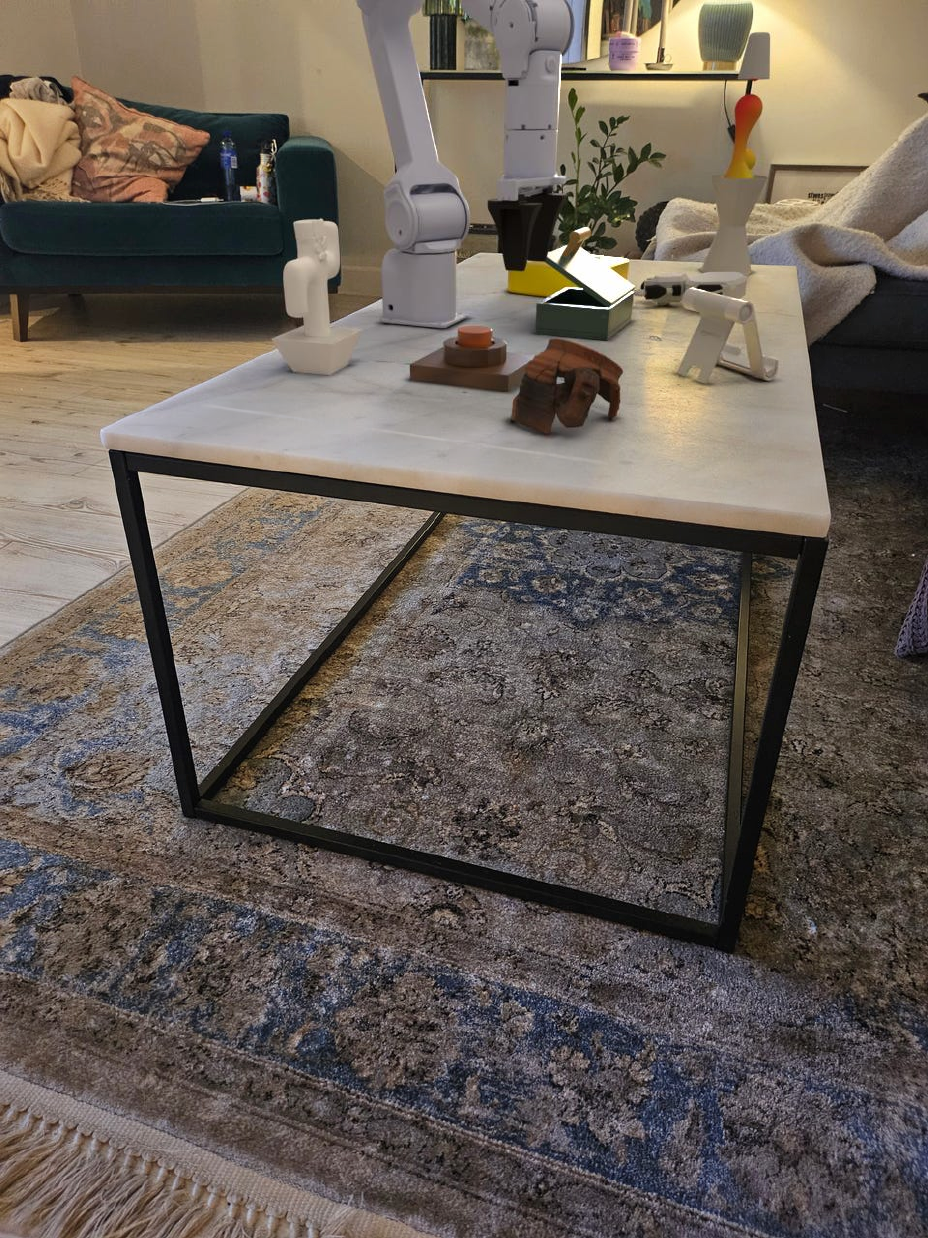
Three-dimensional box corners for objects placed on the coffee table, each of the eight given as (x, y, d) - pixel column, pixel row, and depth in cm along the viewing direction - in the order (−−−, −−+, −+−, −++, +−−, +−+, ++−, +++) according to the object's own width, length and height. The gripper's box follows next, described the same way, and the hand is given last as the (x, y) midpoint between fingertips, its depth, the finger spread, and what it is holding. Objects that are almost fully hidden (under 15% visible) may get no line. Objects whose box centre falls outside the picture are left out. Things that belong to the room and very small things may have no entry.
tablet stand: (775, 380, 93) (791, 297, 88) (717, 389, 90) (730, 303, 85) (721, 361, 99) (732, 283, 95) (665, 369, 96) (674, 289, 92)
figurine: (269, 376, 93) (252, 222, 86) (311, 355, 101) (299, 212, 93) (330, 382, 91) (318, 225, 84) (368, 361, 99) (361, 215, 91)
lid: (540, 259, 107) (558, 228, 104) (570, 246, 117) (587, 218, 114) (608, 308, 106) (627, 278, 104) (632, 291, 116) (650, 263, 114)
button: (452, 348, 91) (452, 331, 90) (465, 341, 94) (465, 324, 93) (484, 351, 90) (484, 334, 89) (496, 344, 93) (497, 327, 92)
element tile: (631, 287, 140) (634, 255, 138) (590, 302, 129) (593, 267, 127) (547, 278, 147) (549, 247, 144) (502, 292, 136) (503, 259, 134)
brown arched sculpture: (492, 415, 83) (528, 332, 82) (577, 455, 86) (613, 376, 84) (527, 421, 72) (569, 324, 70) (624, 467, 74) (666, 375, 73)
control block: (409, 380, 92) (408, 346, 90) (444, 360, 99) (444, 328, 97) (507, 392, 88) (508, 357, 87) (536, 371, 95) (538, 338, 94)
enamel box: (534, 333, 111) (536, 303, 109) (564, 315, 121) (565, 286, 119) (607, 340, 108) (609, 309, 106) (631, 321, 118) (634, 292, 116)
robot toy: (629, 314, 125) (737, 316, 120) (629, 281, 123) (740, 280, 117) (649, 300, 135) (750, 300, 129) (650, 268, 133) (753, 267, 127)
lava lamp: (743, 277, 149) (781, 29, 131) (692, 272, 153) (722, 31, 136) (759, 270, 155) (797, 33, 138) (709, 265, 160) (740, 35, 142)
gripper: (545, 131, 87) (539, 277, 93) (585, 128, 98) (577, 258, 105) (479, 130, 89) (478, 273, 96) (525, 128, 101) (521, 255, 107)
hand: (526, 265), depth 101 cm, fingers open, 7 cm apart
